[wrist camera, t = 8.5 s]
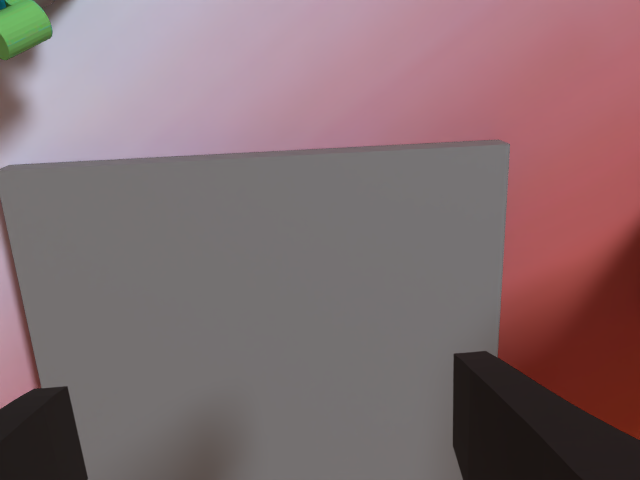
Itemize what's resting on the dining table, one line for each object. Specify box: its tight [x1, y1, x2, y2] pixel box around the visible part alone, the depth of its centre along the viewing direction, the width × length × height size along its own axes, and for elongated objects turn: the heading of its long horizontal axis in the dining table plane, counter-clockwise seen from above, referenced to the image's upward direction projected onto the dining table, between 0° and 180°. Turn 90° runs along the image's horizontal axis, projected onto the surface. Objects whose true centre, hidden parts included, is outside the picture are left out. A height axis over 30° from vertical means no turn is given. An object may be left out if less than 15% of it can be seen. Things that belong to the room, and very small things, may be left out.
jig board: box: [0, 140, 510, 480], centre depth 22 cm, size 16×23×1 cm
